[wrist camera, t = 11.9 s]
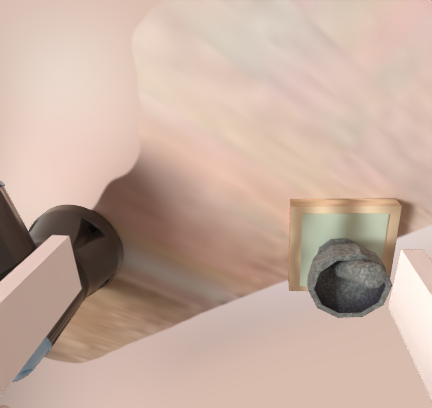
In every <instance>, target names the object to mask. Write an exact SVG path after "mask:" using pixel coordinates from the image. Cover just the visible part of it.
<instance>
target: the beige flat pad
mask: <svg viewBox="0 0 432 408" xmlns="http://www.w3.org/2000/svg"><path fill="white" fill-rule="evenodd" d="M401 209H402V206H401V204H400V203H399V202H398V201H397V200H396V198H383V199H290V228H289V276H288V281H289V291H308V286H307V278H308V274H309V270H310V267H311V264H312V261H313V258H314V257H315V256H316V255H317V253H318V250H319V247H320V246H322V245H323V244H324V243H326V242H327V241H329V240H330V239H337V238H347V239H349V240H351V241H353V242H355V243H357V244H358V245H360V246H362V247H364V248H366V249H368V250H370V251H372V252H374V253H376V254H377V256H378V257H379V258H380V259H381V260H382V262H383V264H384V266H385V268H386V271H387V273H388V276H389V278H390V274H391V269H392V263H393V257H394V250H395V245H396V239H397V233H398V227H399V221H400V215H401Z"/></svg>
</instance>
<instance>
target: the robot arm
mask: <svg viewBox="0 0 432 408" xmlns="http://www.w3.org/2000/svg"><path fill="white" fill-rule="evenodd" d="M4 186H5V185H4V183H3V182H2V181H0V397H1V396H2V394H3V393H4V392H5V390H6V389H7V388H8V386H9V385H10V384H11V382H15V381H18V380H20V379H22V378H24V377H25V376H27V375H29V374H30V373H31V372H32V371H33V370H34V368H35V367H36V366H37V365H38V364H39V362H40V361H41V360H42V359H43V358H44V356H46V355H47V354H48V353H49V352H50V350H51V349H52V346H53V345H54V343H55V342H56V340H57V339H58V337H59V336H60V334H61V333H62V332H63V330H64V329H65V327H66V326H67V324H68V323H69V321H70V320H71V318H72V317H73V316H74V314H75V313H76V311H77V310H78V308H79V307H80V305H81V304H82V302H83V301H84V300H85V298H87V297H88V296H90V295H91V294H93V293H95V292H96V291H97V290H99V289H100V288H102V287H104V286H105V285H107V284H108V283H109V282H110V281H111V280H112V279H113V278H114V276H115V275H116V273H117V272H118V270H119V268H120V266H121V264H122V260H123V248H122V244H121V241H120V238H119V236H118V234H117V233H116V231H115V230H114V228H113V227H112V226H111V225H110V224H109V223H108V222H107V221H106V220H105V219H104V218H103V217H102V216H100V215H99V214H97V213H95V212H94V211H92V210H89V209H87V208H84V207H81V206H76V205H60V206H56V207H54V208H51V209H49V210H48V211H46V212H45V213H44V214H42V215H41V216H40V217H38V218H37V219H36V220H35V221H34V223H33V224H32V225H31V227H30V229H29V231H28V230H27V228H26V226H25V225H24V223H23V221H22V219H21V217H20V215H19V214H18V212H17V210H16V208H15V206H14V204H13V203H12V201H11V199H10V197H9V195H8V193H7V192H6V190H5V188H4ZM388 308H389V311H390V313H391V315H392V317H393V319H394V321H395V323H396V325H397V328H398V330H399V332H400V334H401V336H402V338H403V341H404V343H405V345H406V347H407V349H408V351H409V354H410V356H411V358H412V360H413V362H414V365H415V367H416V369H417V371H418V373H419V375H420V377H421V380H422V382H423V384H424V386H425V388H426V390H427V393H428V394H429V397H430V399H431V401H432V261H431V259H430V258H429V257H428V255H427V254H426V253H425V252H424V250H412V249H411V250H410V249H401V252H400V257H399V261H398V265H397V270H396V275H395V279H394V284H393V288H392V292H391V297H390V301H389V306H388Z"/></svg>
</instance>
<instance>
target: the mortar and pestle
mask: <svg viewBox="0 0 432 408" xmlns="http://www.w3.org/2000/svg"><path fill="white" fill-rule="evenodd" d="M307 286H308V291H309V292H310V294H311V296H312V298H313V300H314V302H315V304H316V306H317V308H319V309H321V310H323V311H325V312H327V313H329V314H331V315H333V316H335V317H338V318H342V317H363V316H365V315H366V314H368V313H370V312H372V311H373V310H375V309H377V308H379V307H380V306H382V305H383V304H384V302H385V300H386V298H387V296H388V294H389V291H390V289H391V287H392V284H391V281H390V278H389V276H388V273H387V271H386V268H385V266H384V264H383V262H382V260H381V259H380V258H379V257H378V256H377V254H376V253H374V252H372V251H370V250H368V249H366V248H364V247H362V246H360V245H358V244H357V243H355V242H353V241H351V240H349V239H347V238H337V239H330V240H329V241H327V242H326V243H324V244H323V245H322V246H320V247H319V250H318V253H317V255H316V256H315V257H314V258H313V261H312V264H311V267H310V270H309V274H308V278H307Z"/></svg>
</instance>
